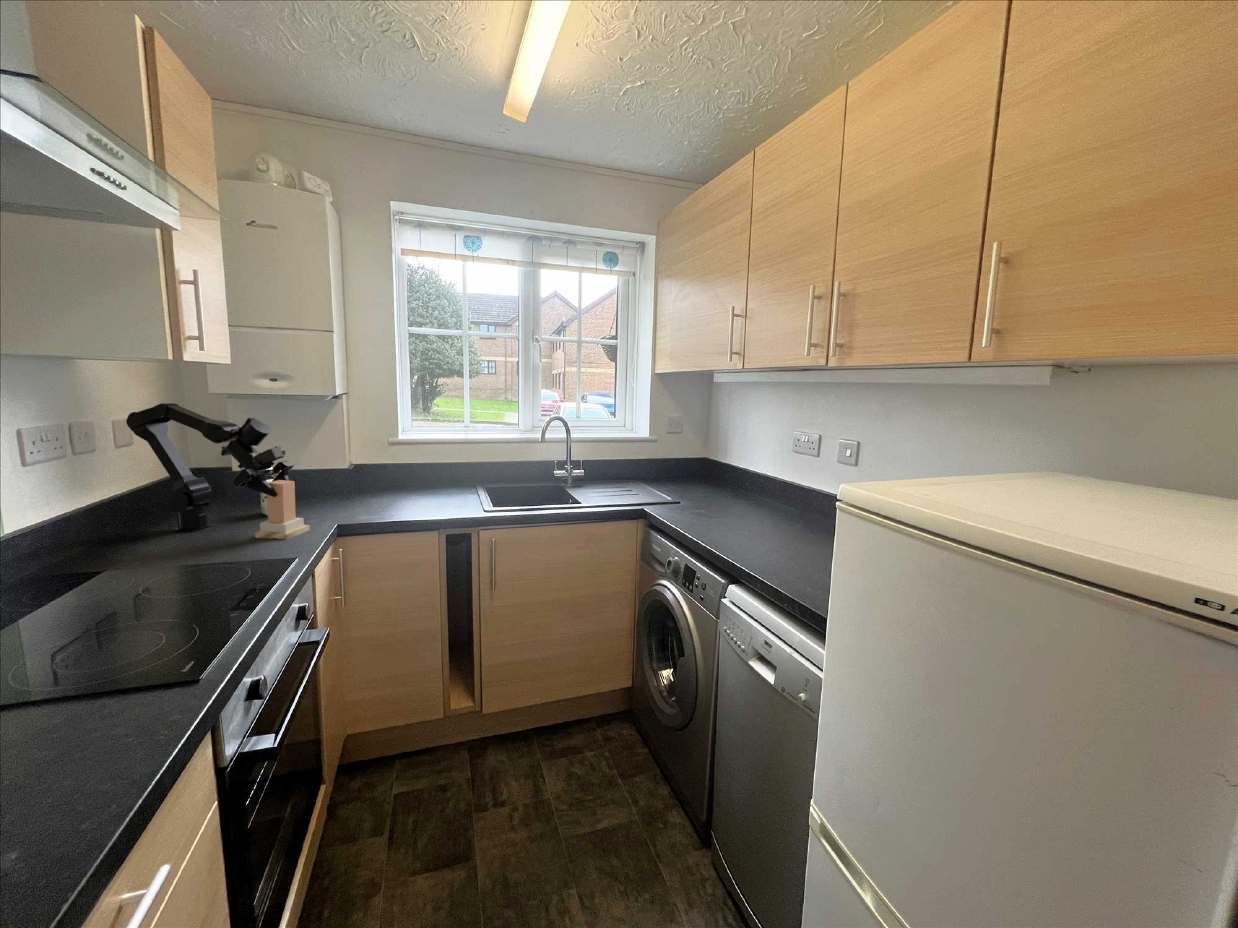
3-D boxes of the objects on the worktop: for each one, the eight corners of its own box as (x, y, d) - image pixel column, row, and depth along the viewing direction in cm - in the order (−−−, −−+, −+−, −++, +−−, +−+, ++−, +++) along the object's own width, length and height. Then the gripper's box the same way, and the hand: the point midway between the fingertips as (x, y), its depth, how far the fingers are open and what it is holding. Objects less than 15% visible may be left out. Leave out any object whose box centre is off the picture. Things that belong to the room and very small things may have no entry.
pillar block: (268, 521, 154) (266, 482, 152) (280, 517, 159) (279, 479, 157) (284, 523, 154) (282, 484, 152) (295, 519, 159) (294, 481, 157)
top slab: (260, 531, 153) (259, 523, 153) (279, 524, 161) (278, 516, 161) (286, 532, 153) (285, 524, 152) (303, 525, 161) (303, 517, 160)
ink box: (261, 513, 180) (258, 480, 178) (277, 510, 184) (274, 478, 182) (270, 517, 175) (268, 483, 173) (287, 514, 179) (284, 481, 177)
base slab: (255, 540, 153) (254, 532, 152) (280, 531, 163) (279, 523, 162) (287, 542, 152) (286, 534, 152) (310, 532, 162) (309, 525, 161)
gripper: (238, 441, 144) (278, 481, 145) (286, 435, 162) (321, 471, 163) (214, 468, 146) (254, 507, 146) (264, 458, 164) (299, 494, 165)
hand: (284, 493), depth 155 cm, fingers open, 6 cm apart
